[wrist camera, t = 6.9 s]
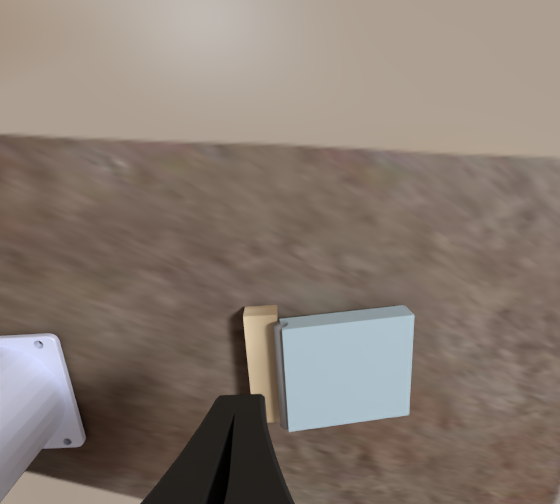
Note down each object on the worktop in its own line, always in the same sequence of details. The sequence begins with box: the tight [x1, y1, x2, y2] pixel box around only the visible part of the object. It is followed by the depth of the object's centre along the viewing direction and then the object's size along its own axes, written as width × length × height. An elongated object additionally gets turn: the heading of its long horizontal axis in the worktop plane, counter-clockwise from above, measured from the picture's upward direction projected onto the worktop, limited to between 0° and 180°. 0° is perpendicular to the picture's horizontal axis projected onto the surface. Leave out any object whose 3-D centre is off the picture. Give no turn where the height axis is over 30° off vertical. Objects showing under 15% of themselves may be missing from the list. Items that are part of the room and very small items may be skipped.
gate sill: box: [243, 305, 280, 423], centre depth 21 cm, size 2×7×1 cm, turn 3°
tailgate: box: [273, 305, 414, 432], centre depth 20 cm, size 1×6×7 cm
